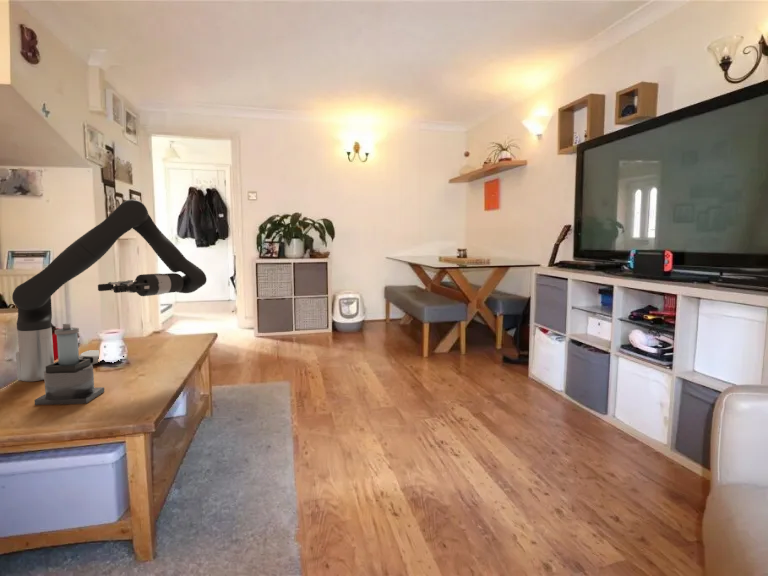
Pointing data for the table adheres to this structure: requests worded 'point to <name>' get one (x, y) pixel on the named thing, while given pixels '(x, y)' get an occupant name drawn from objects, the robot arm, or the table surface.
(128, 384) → the table surface
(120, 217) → the robot arm
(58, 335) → the grey lidded canister
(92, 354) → the robot toy
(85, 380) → the dark grey holder
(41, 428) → the table surface
